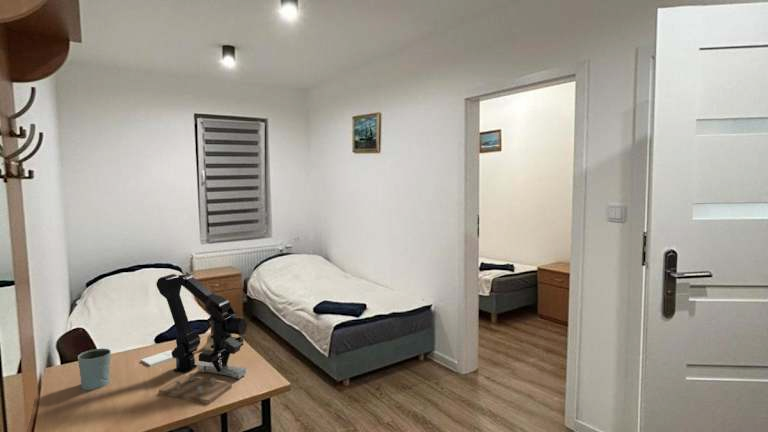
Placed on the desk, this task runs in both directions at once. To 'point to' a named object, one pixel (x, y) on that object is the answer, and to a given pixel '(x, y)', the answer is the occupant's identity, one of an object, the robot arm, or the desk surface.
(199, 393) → the peg board
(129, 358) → the desk surface
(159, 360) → the external hard drive
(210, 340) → the hand bell
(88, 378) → the grey-blue cup
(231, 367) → the grey i-beam piece
